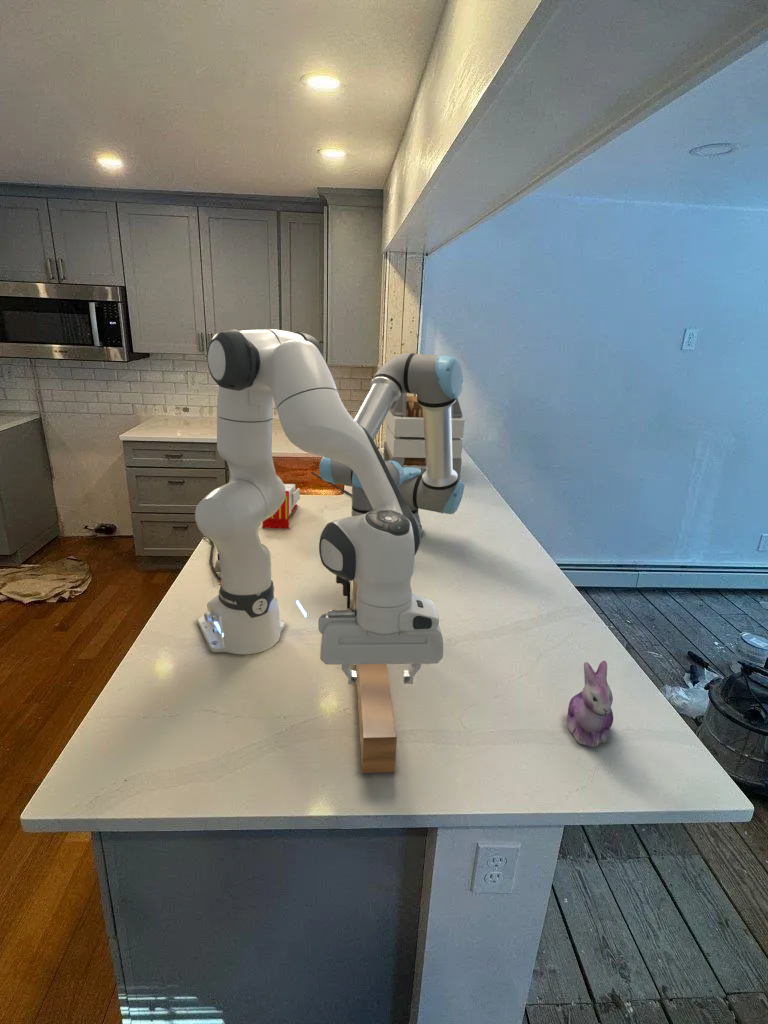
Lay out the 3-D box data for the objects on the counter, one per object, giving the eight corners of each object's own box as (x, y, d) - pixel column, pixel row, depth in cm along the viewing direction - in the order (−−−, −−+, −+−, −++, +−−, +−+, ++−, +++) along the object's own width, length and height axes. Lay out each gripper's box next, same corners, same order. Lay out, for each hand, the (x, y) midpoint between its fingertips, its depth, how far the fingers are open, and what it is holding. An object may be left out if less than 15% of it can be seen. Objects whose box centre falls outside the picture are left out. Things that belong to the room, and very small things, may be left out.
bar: (352, 600, 153) (352, 575, 150) (372, 600, 154) (373, 576, 151) (362, 773, 97) (363, 737, 94) (394, 772, 97) (396, 737, 95)
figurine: (591, 756, 102) (606, 687, 97) (551, 721, 111) (563, 655, 106) (628, 741, 107) (644, 673, 101) (587, 708, 115) (599, 644, 110)
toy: (301, 479, 224) (291, 492, 194) (301, 512, 226) (291, 530, 197) (270, 478, 223) (256, 491, 194) (271, 511, 226) (256, 529, 197)
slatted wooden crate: (382, 463, 289) (386, 382, 275) (445, 464, 293) (451, 384, 279) (390, 482, 257) (394, 392, 243) (460, 483, 261) (468, 394, 247)
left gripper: (317, 620, 87) (317, 695, 92) (448, 620, 89) (441, 693, 94) (319, 600, 93) (318, 671, 98) (441, 600, 95) (435, 670, 100)
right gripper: (325, 530, 137) (324, 613, 145) (408, 531, 139) (402, 613, 146) (325, 519, 144) (325, 599, 152) (404, 520, 146) (399, 599, 153)
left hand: (379, 682), depth 96 cm, fingers open, 8 cm apart
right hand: (363, 606), depth 149 cm, fingers open, 7 cm apart
